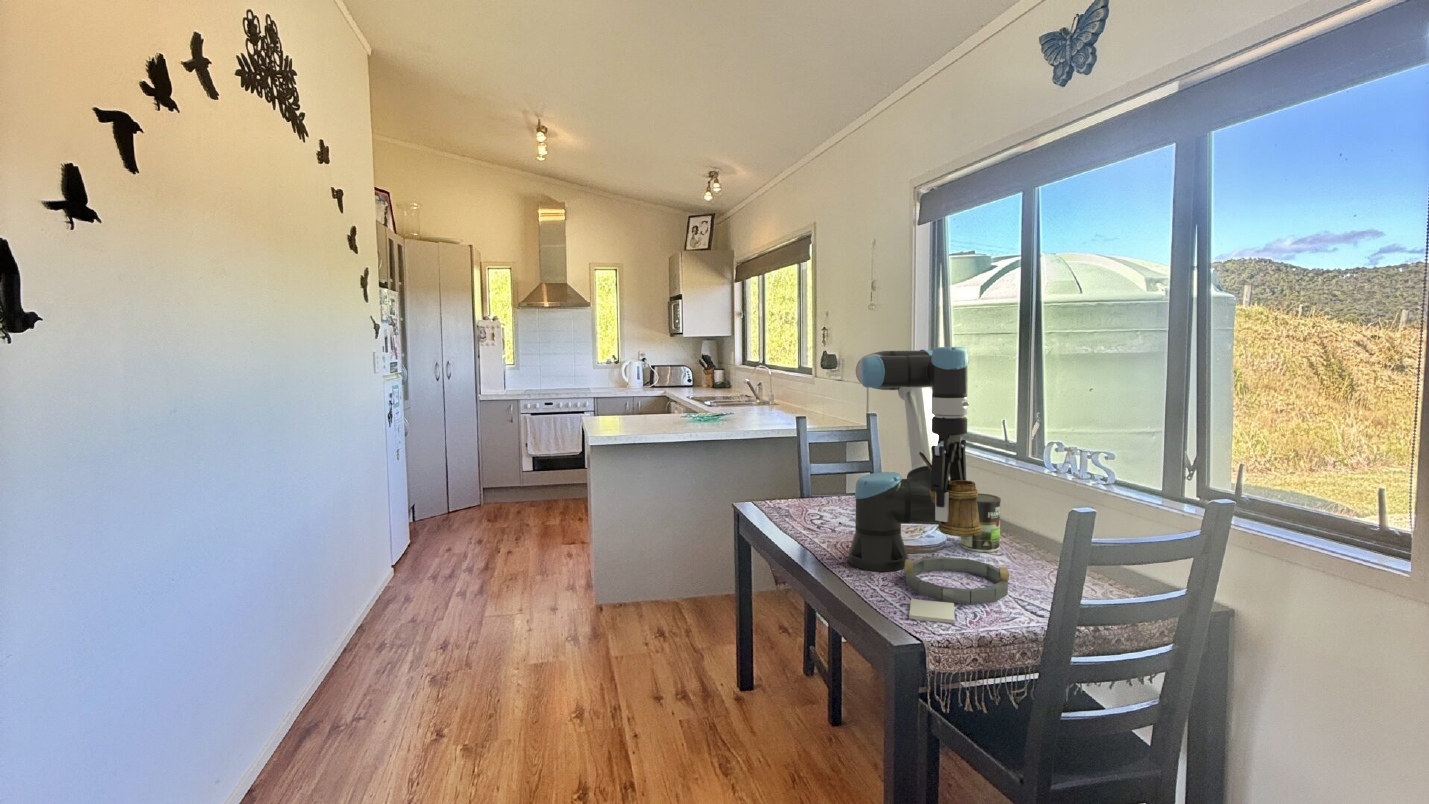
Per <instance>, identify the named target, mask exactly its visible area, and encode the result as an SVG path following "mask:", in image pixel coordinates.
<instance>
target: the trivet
mask: <svg viewBox="0 0 1429 804" xmlns="http://www.w3.org/2000/svg"><path fill="white" fill-rule="evenodd" d="M909 606H910V607H909V615H908V617H909V620H919V621H929V622H937V623H947V624H955V619H956V617H955V603H951V602H942V601H938V600H925V599H915V598H911V600H910V605H909Z"/></svg>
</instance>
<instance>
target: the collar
mask: <svg viewBox="0 0 1429 804" xmlns="http://www.w3.org/2000/svg"><path fill="white" fill-rule="evenodd" d="M936 571H952V572H963V573H964V572H965V573H969V574H972V575H977V576H980V577H984V578H987V579H988V580H990V581H992V582H994V584H993V585H991V586H984V587H977V588H962V587H950V586H942V585H938V584H935V583H932V582H928V581H925V580H922V579H921V578H919V577H917V576H919V575H921V574H923V573H927V572H936ZM904 572H905V586H906V587H908V589H910V590H912V591H913V592H914V593H916V594H917V595H919V596H923V597H925V598H928V599H932V600H934V601H937V602H947V603H954V604H964V605H977V603H979V604H985V603H986V604H987V603H994V602H995V601H996V602H997V601H998V600H1001V599H1003V598H1005V596H1007V595H1009V594H1008V593H1009V581H1010V573H1009V569H1008V567H1007V566H998V568H997V567H996V566H994V565H993V564H990V563H987V562H982V561H979V560H973V559H970V558H964V557H961V558H960V557H948V556H939V557H938V556H937V557H936V556H935V557H928V558H927V557H925V558H919V559H917V560H915V561H914V559H909V558H908V559H906V560H905V567H904Z"/></svg>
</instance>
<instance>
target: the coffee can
mask: <svg viewBox="0 0 1429 804" xmlns="http://www.w3.org/2000/svg"><path fill="white" fill-rule="evenodd" d="M1001 501H1002V499H1001V497H1000V496H997V495H993V494H989V493H978V497H977V504H978V513H979V521H980V525H981V528H982V534H980V535H977V536H971V537H960V547H961V548H963V549H964V550H967V551H971V552H975V553H993V552H998V551H999V550H1000V549H1001V548H1000V546H1001V545H1000V544H1001V543H1000V533H1001V532H1000V531H1001Z"/></svg>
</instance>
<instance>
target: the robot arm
mask: <svg viewBox="0 0 1429 804" xmlns="http://www.w3.org/2000/svg"><path fill="white" fill-rule="evenodd" d="M967 349H968V348H966V347H965V346H940V347H939V346H937V347H934V348H933V349H932V350H929V349H919V350H881V351H877V352H872V353H869V354H867V355H864V356H862V357H861V358H860V359H859V360H858V362H857V364H856V367H855V375H856V378H857V380H858V382H859V383H860V384H861V385H862V386H863V387H864V388H867V389H868V388H871V389H875V390H881V391H897V392H898V397H899V398H900V399H901V400H902V401H904V408H905V417H906V427H907V435H908V444H909V445H908V446H909V447H908V448H909V454H910V461H911V462H910V464H911V469H910V470H909V471H908V472H907V474H906V478H903V477H902V475H901V473H900V472H895V471H892V472H889V471H883V472H881V471H880V472H873V473H869V474H865V475H863V476H861V477H859V478H858V479H857V480H856V481H855V492H854V499H855V520H854V521H855V532H854V536H853V539H852V542H851V545H850V548H849V550H848V562H849V564H851V565H853V566H854V567H856V568H859V569H862V570H866V571H874V572H893V571H898V570H902V569H905V560H906V559H909V555H908V551H907V548H906V545H905V543H904V539H903V536H902V525H937V526H939V523H940V521H943V522H948V516H949V492H947V485H948V480H949V482H950V481H954V480H967V462H966V461H967V460H966V458H967V457H966V445H967V441H966V440H967V439H961V436H962V435H966V434H967V433H968V418H967V417H966V415H968V406H970V402H969V401H968V384H969V383H968V381H969V380H968V378H969V377H968V376H969V375H968V371H969V369H968V367H969V358H968V357H969V355H968V350H967ZM919 452H921V453H923V454H924V455H925V457H926V458H927V460H928V461H929V462H930V463H931V465H932V469H931V470H930V469H929V467H928V466H927V465H926V463H925V462H924V460H923V459H922V458H921V456H920V455H919ZM930 485H931V491H933V492H935V505H934V504H933V502H932V500H931V498H930V493H929V490H930Z"/></svg>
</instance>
